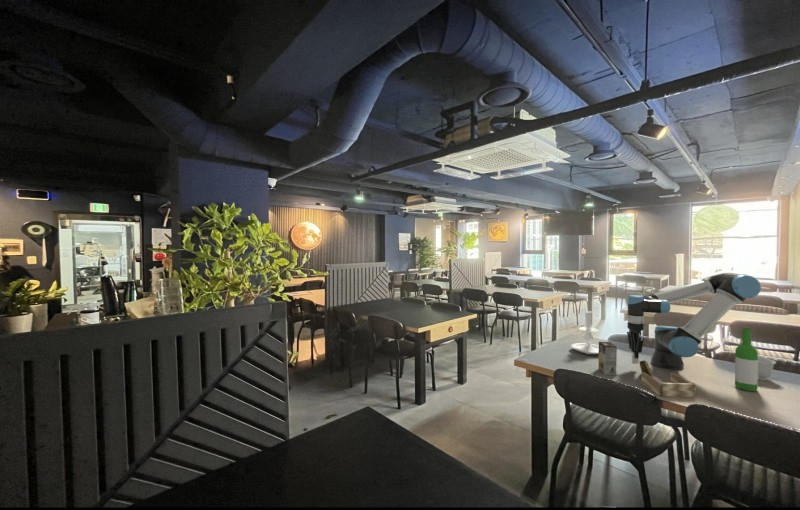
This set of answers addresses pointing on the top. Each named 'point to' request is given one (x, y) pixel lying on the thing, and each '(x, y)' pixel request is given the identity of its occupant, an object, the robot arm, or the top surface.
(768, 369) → the teacup
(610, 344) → the coffee box
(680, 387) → the box
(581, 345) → the candlestick
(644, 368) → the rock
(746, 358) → the wine bottle
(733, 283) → the robot arm
